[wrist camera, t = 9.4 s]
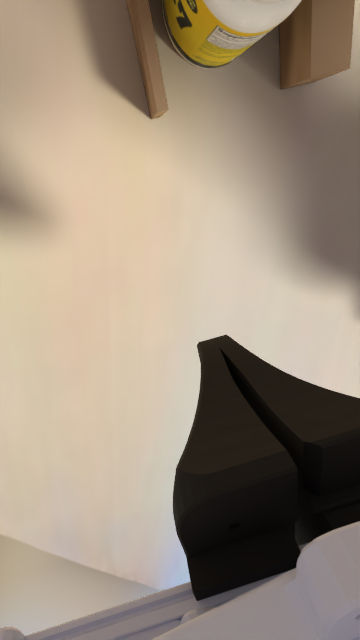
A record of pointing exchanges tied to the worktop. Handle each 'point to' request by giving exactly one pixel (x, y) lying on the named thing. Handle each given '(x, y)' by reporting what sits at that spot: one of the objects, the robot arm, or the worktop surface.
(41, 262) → the worktop surface
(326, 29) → the tag dock
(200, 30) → the supplement bottle
